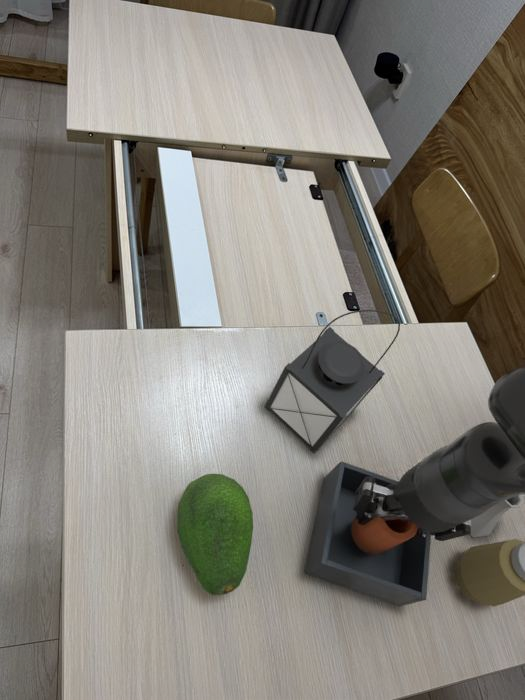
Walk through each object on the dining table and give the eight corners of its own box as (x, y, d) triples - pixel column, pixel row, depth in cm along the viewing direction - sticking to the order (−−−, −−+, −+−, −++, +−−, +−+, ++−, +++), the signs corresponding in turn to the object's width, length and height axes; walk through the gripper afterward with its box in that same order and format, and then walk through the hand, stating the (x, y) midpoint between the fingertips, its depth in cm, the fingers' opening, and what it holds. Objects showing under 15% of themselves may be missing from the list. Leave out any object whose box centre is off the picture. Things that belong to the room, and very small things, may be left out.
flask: (444, 502, 81) (479, 483, 73) (475, 485, 84) (513, 464, 76) (471, 545, 78) (512, 530, 70) (503, 526, 82) (545, 509, 73)
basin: (409, 508, 79) (434, 494, 73) (399, 606, 71) (426, 600, 65) (323, 478, 79) (341, 460, 73) (303, 573, 71) (321, 563, 64)
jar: (391, 519, 74) (421, 502, 66) (386, 560, 70) (417, 546, 63) (354, 506, 74) (379, 487, 66) (347, 546, 70) (373, 531, 63)
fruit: (250, 596, 68) (267, 585, 60) (175, 602, 65) (182, 592, 57) (241, 484, 76) (255, 461, 67) (174, 486, 73) (180, 463, 65)
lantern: (263, 406, 83) (315, 305, 60) (304, 368, 89) (366, 262, 66) (314, 454, 81) (388, 367, 58) (353, 411, 87) (435, 316, 64)
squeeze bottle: (437, 562, 76) (511, 534, 61) (476, 542, 79) (557, 512, 64) (466, 618, 72) (553, 604, 58) (507, 595, 76) (599, 576, 61)
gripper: (509, 477, 57) (434, 516, 71) (390, 434, 56) (338, 481, 70) (510, 543, 53) (430, 571, 66) (381, 497, 52) (328, 535, 66)
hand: (383, 525), depth 68 cm, fingers closed on jar, 6 cm apart
